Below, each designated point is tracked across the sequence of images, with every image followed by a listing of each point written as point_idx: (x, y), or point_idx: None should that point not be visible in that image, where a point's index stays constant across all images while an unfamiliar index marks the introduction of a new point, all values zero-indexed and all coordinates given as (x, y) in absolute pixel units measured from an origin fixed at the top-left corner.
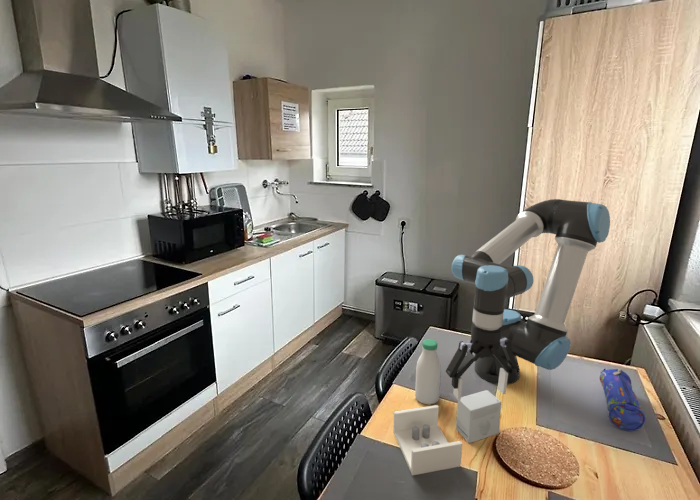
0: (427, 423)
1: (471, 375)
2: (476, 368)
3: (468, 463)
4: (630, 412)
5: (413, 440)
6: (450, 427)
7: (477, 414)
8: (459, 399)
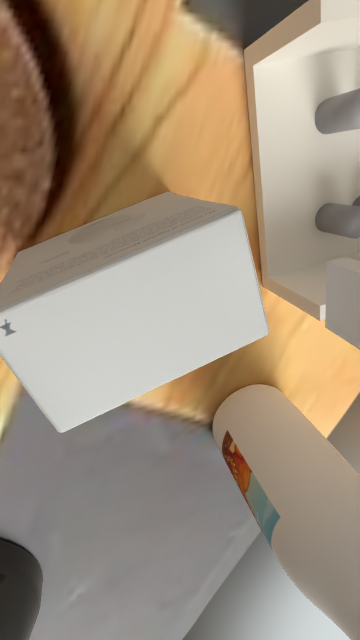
0: (314, 270)
1: (62, 549)
2: (38, 587)
3: (205, 66)
4: None
5: None
6: None
7: (174, 222)
8: (339, 260)
